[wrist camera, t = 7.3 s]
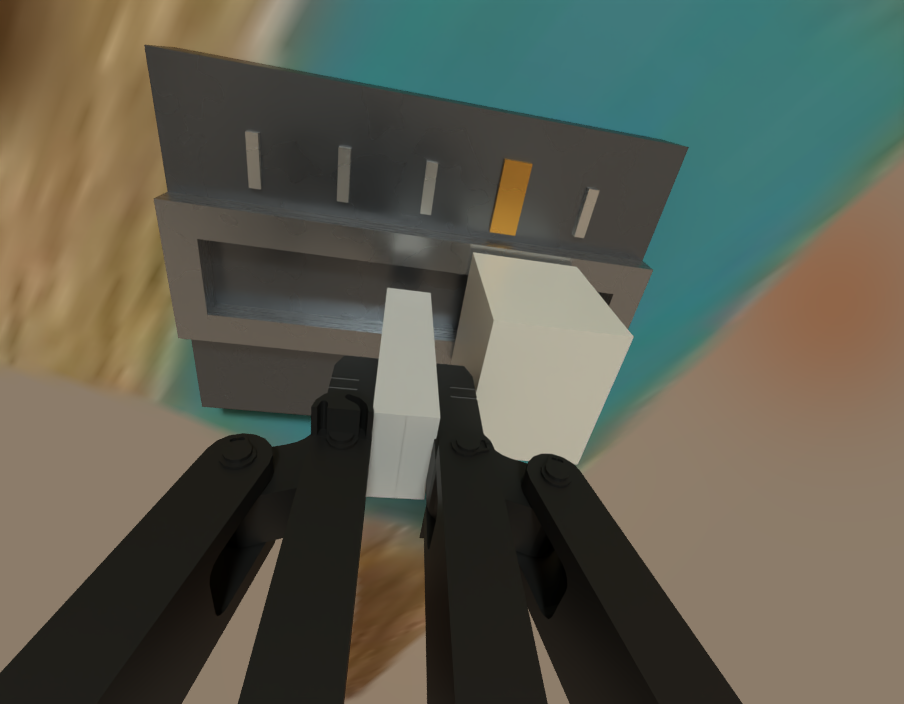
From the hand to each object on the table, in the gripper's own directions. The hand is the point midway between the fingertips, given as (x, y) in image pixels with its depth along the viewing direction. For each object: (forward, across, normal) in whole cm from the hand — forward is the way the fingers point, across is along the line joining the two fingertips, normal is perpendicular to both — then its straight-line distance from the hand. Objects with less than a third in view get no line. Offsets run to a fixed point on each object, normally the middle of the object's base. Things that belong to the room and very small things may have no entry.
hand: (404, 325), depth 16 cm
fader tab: (+3, +4, 0) cm, 5 cm away
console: (+5, 0, 0) cm, 5 cm away
